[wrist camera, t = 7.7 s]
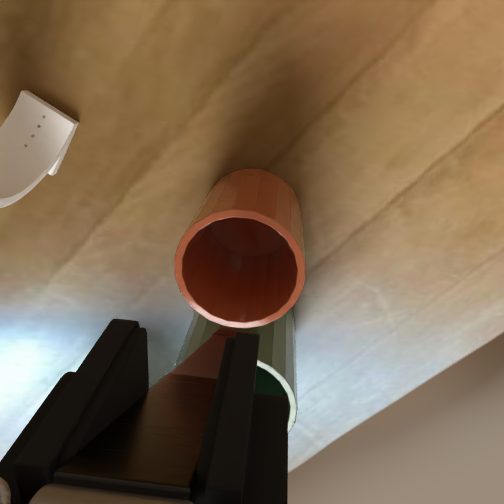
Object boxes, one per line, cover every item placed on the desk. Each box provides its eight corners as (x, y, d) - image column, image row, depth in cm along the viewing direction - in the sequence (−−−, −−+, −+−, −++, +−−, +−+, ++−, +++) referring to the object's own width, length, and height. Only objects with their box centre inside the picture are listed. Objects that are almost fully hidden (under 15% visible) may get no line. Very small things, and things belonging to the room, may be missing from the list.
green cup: (300, 284, 39) (304, 360, 29) (289, 369, 43) (289, 462, 33) (195, 274, 40) (164, 345, 30) (194, 359, 44) (166, 448, 34)
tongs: (265, 178, 21) (174, 577, 5) (250, 349, 26) (173, 891, 9) (225, 174, 22) (-5, 553, 5) (216, 346, 26) (76, 875, 9)
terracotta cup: (306, 172, 35) (313, 216, 25) (295, 263, 39) (297, 334, 29) (206, 163, 36) (174, 203, 26) (203, 254, 39) (174, 321, 29)
